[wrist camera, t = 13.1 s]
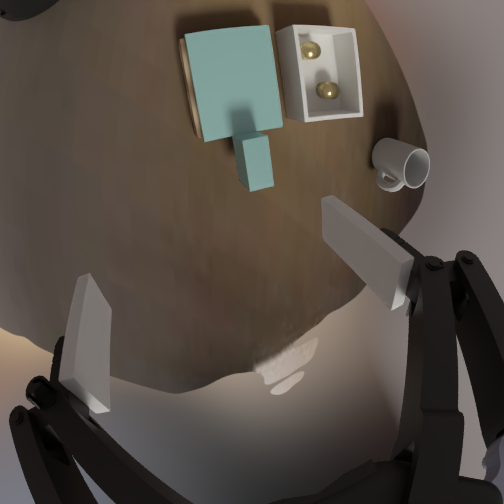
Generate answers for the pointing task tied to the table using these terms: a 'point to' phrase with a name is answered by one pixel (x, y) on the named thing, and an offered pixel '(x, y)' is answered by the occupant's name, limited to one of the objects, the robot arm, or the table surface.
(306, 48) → the gold metallic ball
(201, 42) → the lid
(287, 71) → the tub
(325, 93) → the gold round piece
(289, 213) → the table surface
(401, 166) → the cup
